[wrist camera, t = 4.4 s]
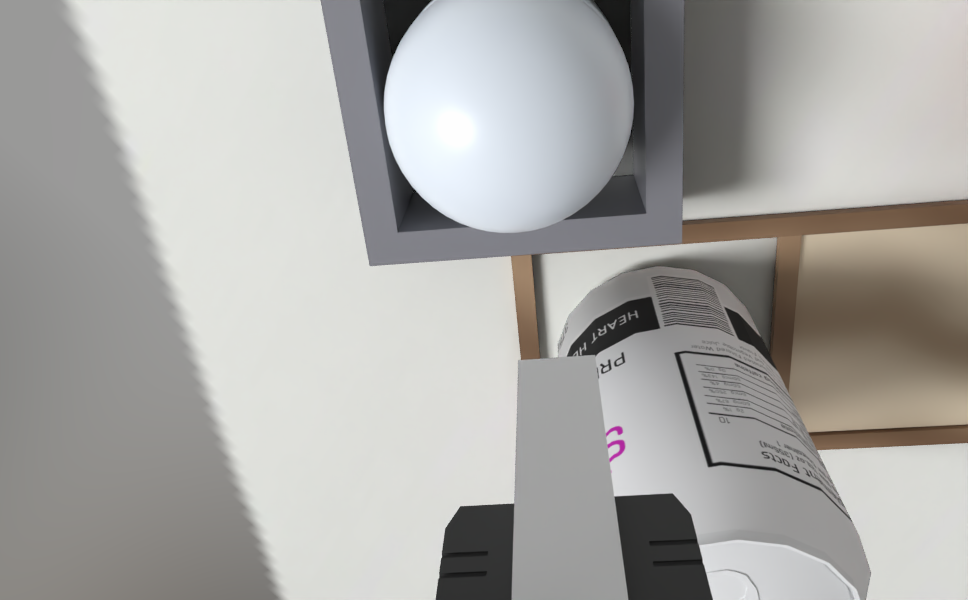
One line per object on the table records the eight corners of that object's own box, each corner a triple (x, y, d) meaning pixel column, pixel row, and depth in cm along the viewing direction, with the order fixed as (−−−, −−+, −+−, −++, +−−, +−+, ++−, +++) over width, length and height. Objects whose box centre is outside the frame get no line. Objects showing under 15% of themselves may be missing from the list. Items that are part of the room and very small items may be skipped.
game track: (1287, 421, 35) (1294, 427, 34) (531, 458, 38) (531, 463, 37) (1395, 167, 30) (1405, 171, 29) (509, 234, 33) (509, 237, 32)
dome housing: (665, 201, 32) (682, 243, 28) (387, 223, 33) (369, 266, 29) (665, -114, 27) (685, -112, 23) (336, -77, 28) (307, -70, 24)
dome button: (623, 176, 30) (650, 264, 23) (418, 192, 30) (386, 283, 24) (618, -49, 26) (647, -22, 20) (386, -24, 27) (338, 10, 20)
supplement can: (761, 405, 36) (897, 720, 23) (576, 437, 37) (601, 752, 24) (741, 240, 32) (888, 497, 19) (537, 282, 34) (541, 549, 20)
